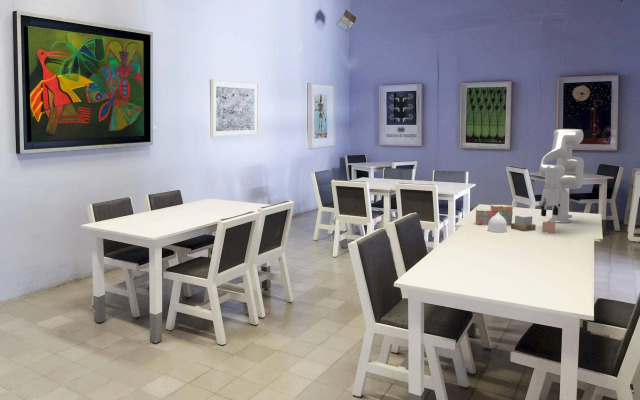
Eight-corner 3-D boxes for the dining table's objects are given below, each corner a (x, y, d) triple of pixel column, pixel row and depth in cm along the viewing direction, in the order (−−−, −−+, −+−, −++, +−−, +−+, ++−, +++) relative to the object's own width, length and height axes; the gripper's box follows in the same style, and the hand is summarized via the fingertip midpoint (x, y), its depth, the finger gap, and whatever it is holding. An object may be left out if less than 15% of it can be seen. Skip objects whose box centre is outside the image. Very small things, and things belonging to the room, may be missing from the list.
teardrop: (483, 230, 331) (484, 211, 329) (494, 228, 338) (495, 209, 336) (499, 233, 322) (500, 213, 321) (510, 231, 329) (511, 211, 327)
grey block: (523, 222, 340) (523, 214, 339) (531, 224, 333) (532, 216, 333) (514, 223, 336) (515, 215, 336) (523, 225, 330) (524, 217, 329)
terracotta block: (548, 230, 330) (548, 221, 329) (554, 232, 326) (555, 222, 325) (542, 231, 328) (542, 221, 327) (548, 233, 324) (549, 223, 323)
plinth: (522, 226, 342) (522, 222, 342) (535, 229, 333) (535, 224, 333) (510, 228, 338) (511, 223, 337) (523, 231, 329) (523, 226, 328)
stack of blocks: (477, 225, 348) (478, 205, 346) (475, 223, 354) (476, 204, 352) (511, 225, 346) (512, 206, 344) (509, 223, 352) (510, 204, 350)
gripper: (556, 185, 330) (554, 213, 332) (535, 186, 322) (533, 215, 324) (567, 186, 323) (564, 215, 325) (546, 188, 315) (544, 217, 318)
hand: (549, 215), depth 325 cm, fingers open, 9 cm apart
